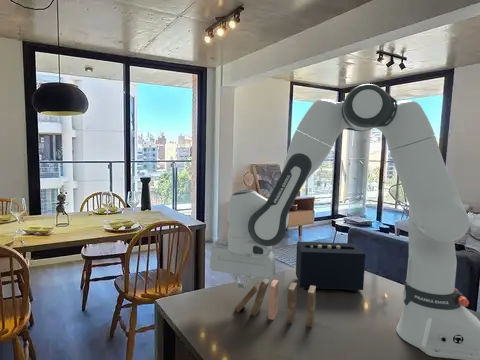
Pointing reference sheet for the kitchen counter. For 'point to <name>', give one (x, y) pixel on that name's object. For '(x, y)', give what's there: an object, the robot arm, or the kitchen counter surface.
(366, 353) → the kitchen counter surface
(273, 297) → the domino
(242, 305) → the domino
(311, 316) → the domino
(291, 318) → the domino
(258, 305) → the domino
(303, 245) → the speaker
